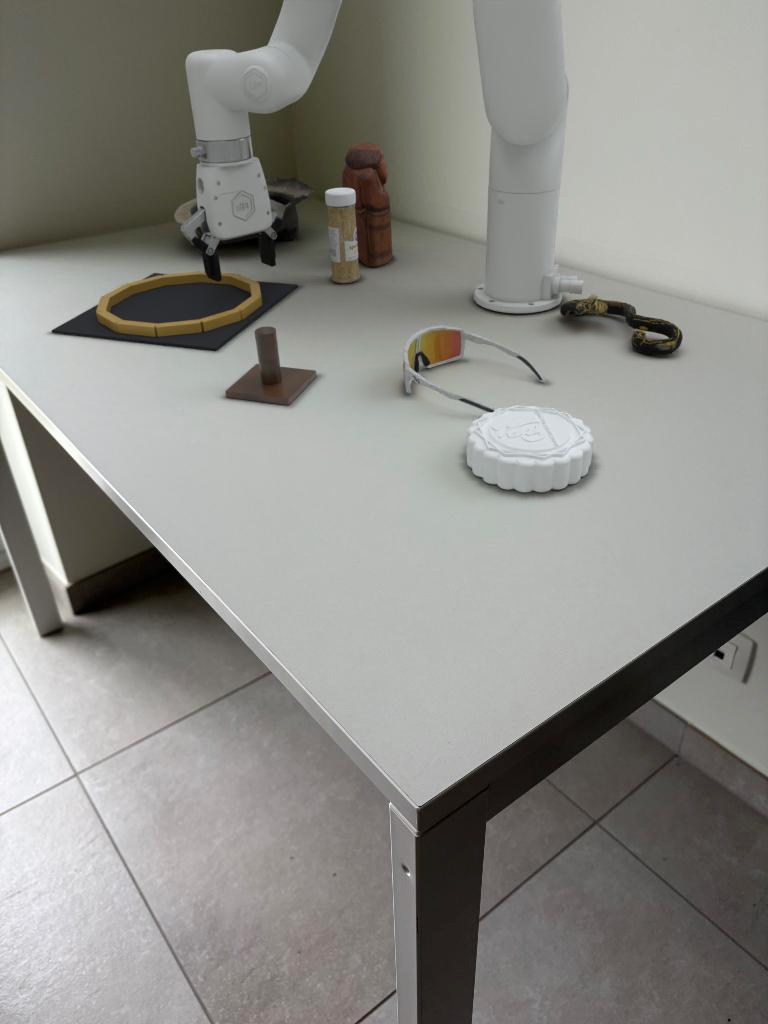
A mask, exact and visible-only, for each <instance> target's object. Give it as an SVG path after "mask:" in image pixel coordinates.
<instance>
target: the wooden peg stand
mask: <svg viewBox="0 0 768 1024" xmlns="http://www.w3.org/2000/svg"><path fill="white" fill-rule="evenodd" d="M254 337H255V345H256V352H257V353H256V354H257V360H258V363H256V364H254V365H253V367H251V368H250V369H249V370H248V371H247V372H246V373H244V374H243V375H242V376H241V377H240V378H239V379H237V380H236V381H235V382H234V383H232V385H230V386H229V388H226V390H225V397H226V398H231V399H237V400H246V401H252V402H260V403H269V404H277V405H285V406H290V405H291V404H292V403H293V401H295V399H297V397H299V395H300V394H301V393H303V391H304V390H305V389H306V388H307V387H308V386H309V385H310V384H311V383H312V382H313V381H314V380H315V378H317V370H315V369H306V368H296V367H287V366H281V361H280V352H279V345H278V336H277V329H276V328H275V327H274V326H260V327H258V328H257V327H256V328H255V329H254Z"/></svg>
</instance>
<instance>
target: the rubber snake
mask: <svg viewBox="0 0 768 1024" xmlns="http://www.w3.org/2000/svg"><path fill="white" fill-rule="evenodd" d="M559 313H560V315H562V316H563V317H570V316H574V315H575V316H576V315H577V316H580V315H584V314H588V313H591V314H592V313H594V314H595V315H597V316H599V317H601V318H603V317H604V316H605V315H613V316H619V317H622V318H625V322H626V324H627V325H628V327H630V328H632V329H633V330H634V331H633V333H632V335H631V337H630V341H631V342H630V343H631V346H632V349H634V350H635V351H636V352H639V353H642V354H644V355H651V356H652V355H656V356H657V355H672V354H674V353H675V352H676V350H678V349H679V348H680V346H681V345H682V341H683V337H684V336H683V335H684V334H683V331H682V330H681V328H679V327H678V326H677V325H676V324H675V323H672V322H670V321H668V320H665V319H661V318H656V317H651V316H644V315H640V314H637V310H636V308H635V306H634V305H632V304H630V303H627V302H623V301H617V300H609V299H601V298H599V296H598V295H597V294H596V293H595V294H594V293H593V294H590V296H589V297H588V298H583V299H572V300H567V301H566V302H564V303H563V304H561V305H560V307H559ZM646 332H648V333H655V334H659V335H663V336H665V337H667V338H663V339H648V338H647V335H646V334H647V333H646Z"/></svg>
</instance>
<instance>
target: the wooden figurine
mask: <svg viewBox="0 0 768 1024" xmlns="http://www.w3.org/2000/svg"><path fill="white" fill-rule="evenodd" d="M384 155H385V154H384V152H383V150H382V149H381V147H380V146H379V145H377V144H376V143H373V142H369V141H368V142H367V141H362V142H361V141H360V142H357V143H355V144H353V145H351V146H350V147H349V149H348V150H347V151H346V153H345V157H344V166H343V168H342V171H341V173H342V174H341V188H351V189H354V190H355V195H356V203H355V217H356V228H357V244H358V262H361V263H362V264H364V265H365V266H367V267H372V268H373V267H374V268H375V267H380V266H383V265H386V264H388V263H389V262H391V261H392V259H393V240H392V239H393V237H392V234H393V233H392V220H391V219H392V218H391V201H390V194H389V192H388V191H386V187H385V185H386V183H387V182H388V172H387V163H386V161H385V156H384Z"/></svg>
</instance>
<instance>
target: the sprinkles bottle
mask: <svg viewBox="0 0 768 1024" xmlns="http://www.w3.org/2000/svg"><path fill="white" fill-rule="evenodd" d="M324 198H325V199H324V200H325V205H326V208H327V210H326V212H327V224H328V225H327V229H328V242H329V243H328V245H329V256H330V261H331V280H332V281H333V282H335V283H338V284H350V283H353V282H356V281H358V280H360V278H361V274H360V268H359V260H358V244H357V228H356V217H355V203H356V195H355V190H354V189H351V188H342V187H334V188H329V189H327V190H325V192H324Z"/></svg>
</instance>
